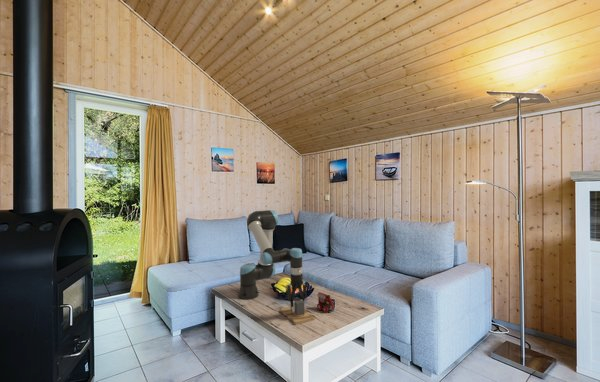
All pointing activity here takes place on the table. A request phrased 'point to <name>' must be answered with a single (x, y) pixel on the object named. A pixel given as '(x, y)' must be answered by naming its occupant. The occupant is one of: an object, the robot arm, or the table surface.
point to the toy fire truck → (324, 302)
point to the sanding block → (298, 307)
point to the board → (294, 318)
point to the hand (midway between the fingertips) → (297, 310)
